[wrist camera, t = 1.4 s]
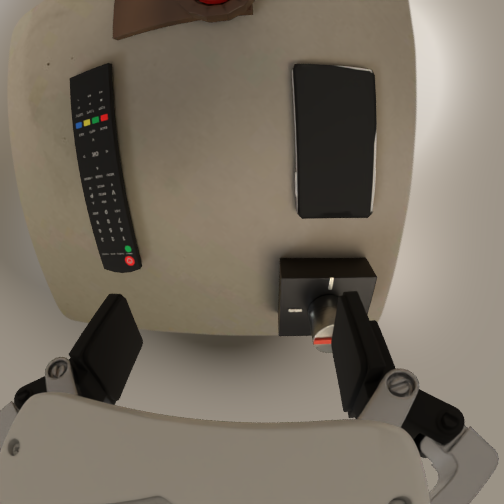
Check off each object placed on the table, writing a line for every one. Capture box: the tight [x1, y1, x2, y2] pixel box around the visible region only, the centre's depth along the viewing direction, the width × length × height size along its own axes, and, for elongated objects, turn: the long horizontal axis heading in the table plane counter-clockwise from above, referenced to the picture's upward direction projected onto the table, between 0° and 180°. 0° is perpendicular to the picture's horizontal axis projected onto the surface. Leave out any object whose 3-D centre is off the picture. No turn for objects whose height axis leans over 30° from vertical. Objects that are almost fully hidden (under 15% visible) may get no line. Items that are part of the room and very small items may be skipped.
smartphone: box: [292, 64, 376, 219], centre depth 23 cm, size 8×1×15 cm
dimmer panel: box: [278, 258, 377, 336], centre depth 30 cm, size 10×8×4 cm
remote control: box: [70, 63, 142, 273], centre depth 26 cm, size 5×24×1 cm, turn 3°
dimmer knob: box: [308, 295, 338, 353], centre depth 26 cm, size 4×4×5 cm
